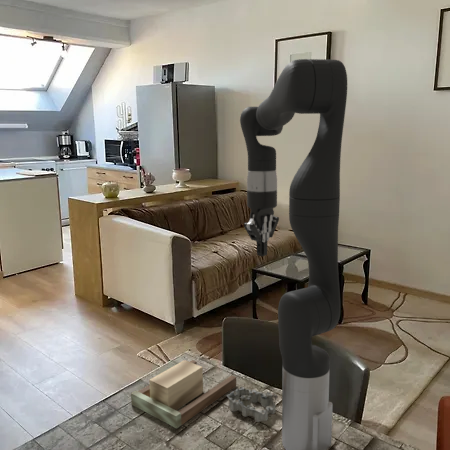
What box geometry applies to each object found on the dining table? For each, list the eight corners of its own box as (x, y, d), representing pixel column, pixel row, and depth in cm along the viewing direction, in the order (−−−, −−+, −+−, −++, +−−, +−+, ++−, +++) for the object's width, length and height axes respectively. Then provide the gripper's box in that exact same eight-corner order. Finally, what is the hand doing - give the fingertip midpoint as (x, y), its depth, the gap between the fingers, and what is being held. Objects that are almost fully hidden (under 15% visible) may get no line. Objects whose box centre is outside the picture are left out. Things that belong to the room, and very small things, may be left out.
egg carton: (280, 411, 106) (280, 395, 105) (261, 427, 101) (261, 410, 100) (243, 394, 113) (243, 379, 112) (223, 408, 107) (223, 392, 107)
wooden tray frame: (236, 386, 116) (236, 375, 116) (176, 428, 100) (176, 416, 99) (192, 368, 126) (192, 358, 125) (131, 404, 109) (130, 393, 109)
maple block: (203, 392, 114) (202, 366, 113) (168, 416, 105) (167, 388, 103) (185, 385, 118) (184, 359, 116) (150, 406, 109) (149, 379, 107)
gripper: (259, 192, 108) (259, 263, 111) (288, 186, 118) (288, 252, 121) (234, 190, 112) (234, 258, 116) (264, 185, 122) (264, 248, 126)
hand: (262, 255), depth 118 cm, fingers closed
